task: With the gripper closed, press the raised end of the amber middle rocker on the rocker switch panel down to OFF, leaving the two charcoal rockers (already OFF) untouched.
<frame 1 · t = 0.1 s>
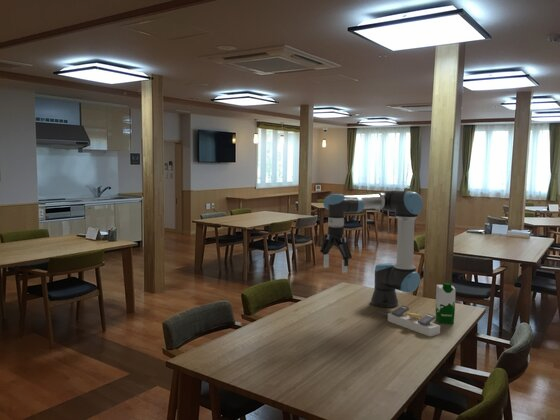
hand: (335, 270, 225), 28 cm above the table, fingers open, 13 cm apart
rocker switch panel: (412, 327, 228), on the table
milk carton: (444, 321, 237), on the table
rocker 3: (426, 319, 220), point 6 cm above the table, hinge at 15.0°
rocker 2: (413, 314, 227), point 6 cm above the table, hinge at -15.0°
rocker 1: (400, 310, 234), point 6 cm above the table, hinge at 15.0°
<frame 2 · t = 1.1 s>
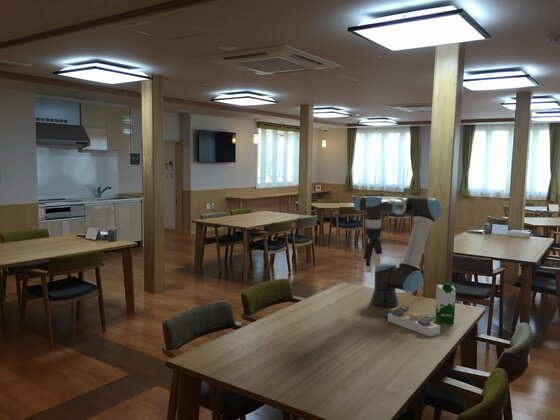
hand: (373, 269, 234), 26 cm above the table, fingers open, 13 cm apart
nothing on the table moved.
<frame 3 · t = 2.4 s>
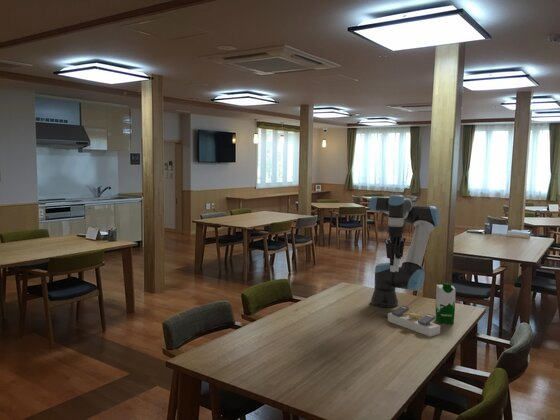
hand: (394, 271, 239), 24 cm above the table, fingers closed
nothing on the table moved.
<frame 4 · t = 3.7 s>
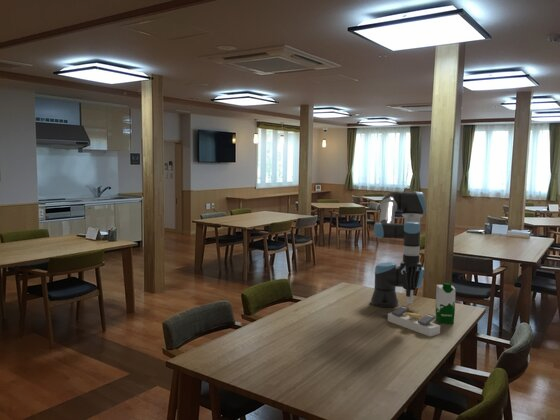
hand: (409, 302, 225), 13 cm above the table, fingers closed
nothing on the table moved.
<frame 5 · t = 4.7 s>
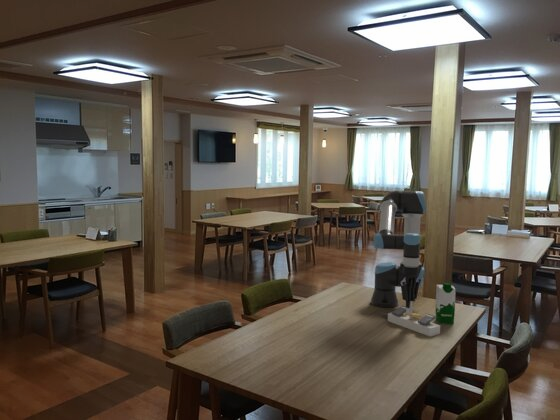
hand: (409, 313, 225), 7 cm above the table, fingers closed
rocker 2: (413, 314, 227), point 6 cm above the table, hinge at -15.0°, touching gripper
everything else where it was.
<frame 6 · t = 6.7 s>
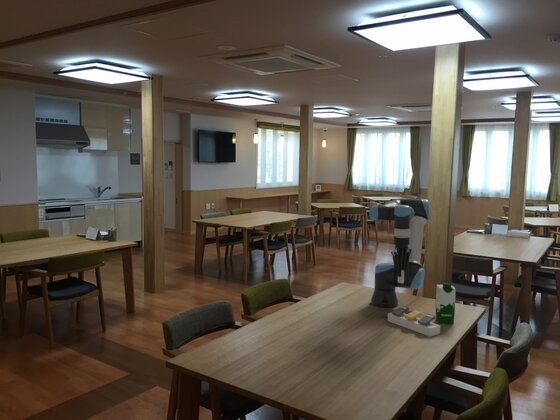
hand: (400, 282, 235), 20 cm above the table, fingers closed
rocker 2: (413, 314, 227), point 6 cm above the table, hinge at 9.0°
everything else where it was.
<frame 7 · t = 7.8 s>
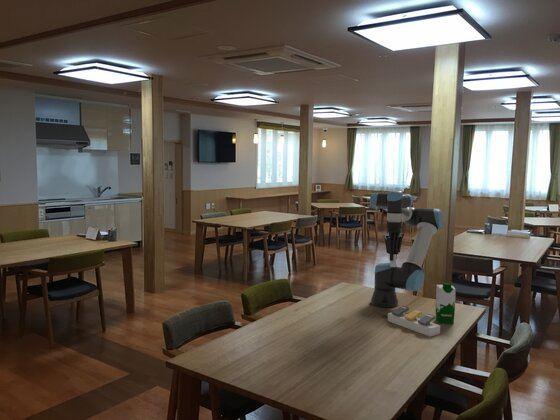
hand: (392, 266, 241), 26 cm above the table, fingers closed
rocker 2: (413, 314, 227), point 6 cm above the table, hinge at 14.4°
everything else where it was.
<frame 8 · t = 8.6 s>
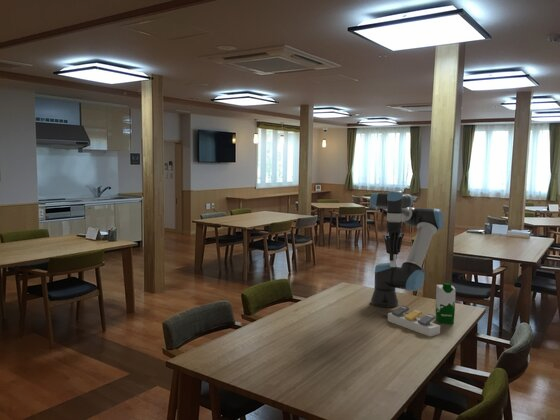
hand: (392, 266, 241), 26 cm above the table, fingers closed
rocker 2: (413, 314, 227), point 6 cm above the table, hinge at 16.3°
everything else where it was.
at the end: rocker 2 at +16° (first picture: -15°); rocker 1 at +15° (first picture: +15°); rocker 3 at +15° (first picture: +15°) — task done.
